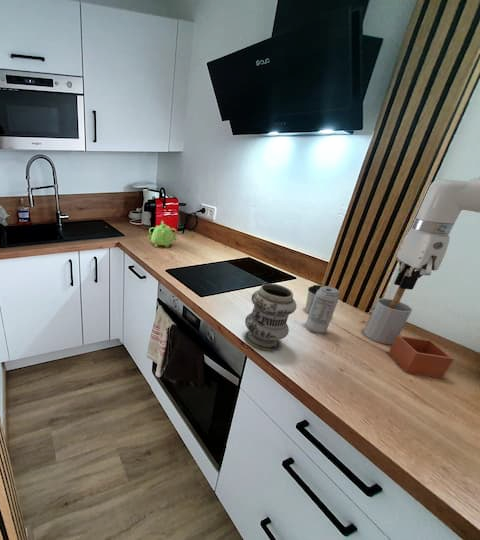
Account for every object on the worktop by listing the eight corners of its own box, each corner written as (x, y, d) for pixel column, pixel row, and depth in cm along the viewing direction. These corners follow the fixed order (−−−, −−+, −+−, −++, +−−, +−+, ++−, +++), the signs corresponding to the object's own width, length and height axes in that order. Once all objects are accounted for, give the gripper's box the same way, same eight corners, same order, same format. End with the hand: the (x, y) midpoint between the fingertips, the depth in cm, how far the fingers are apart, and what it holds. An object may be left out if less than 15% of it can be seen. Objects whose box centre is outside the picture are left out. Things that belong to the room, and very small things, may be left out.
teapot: (143, 242, 177) (144, 222, 172) (160, 239, 185) (162, 220, 179) (160, 250, 165) (162, 228, 160) (178, 246, 172) (180, 225, 167)
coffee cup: (315, 318, 102) (324, 294, 98) (297, 309, 107) (304, 285, 103) (327, 314, 104) (336, 290, 100) (309, 305, 110) (316, 282, 106)
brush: (384, 329, 93) (414, 267, 85) (392, 336, 90) (423, 273, 81) (370, 327, 94) (398, 266, 85) (377, 334, 91) (407, 271, 82)
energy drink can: (329, 330, 95) (344, 290, 89) (320, 336, 92) (335, 295, 86) (310, 321, 100) (323, 283, 94) (301, 326, 97) (314, 287, 91)
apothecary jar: (264, 357, 82) (280, 303, 74) (233, 334, 91) (244, 284, 84) (292, 347, 86) (310, 294, 79) (259, 325, 96) (272, 277, 89)
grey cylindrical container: (385, 331, 95) (401, 300, 91) (401, 346, 88) (418, 313, 83) (358, 327, 97) (372, 296, 92) (371, 342, 90) (386, 309, 85)
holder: (420, 358, 83) (430, 340, 81) (442, 378, 76) (454, 359, 74) (387, 353, 85) (397, 335, 83) (406, 372, 78) (416, 353, 75)
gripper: (473, 236, 70) (438, 301, 78) (426, 221, 84) (400, 277, 92) (437, 233, 72) (406, 297, 79) (396, 219, 86) (373, 275, 93)
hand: (403, 286), depth 85 cm, fingers closed on brush
